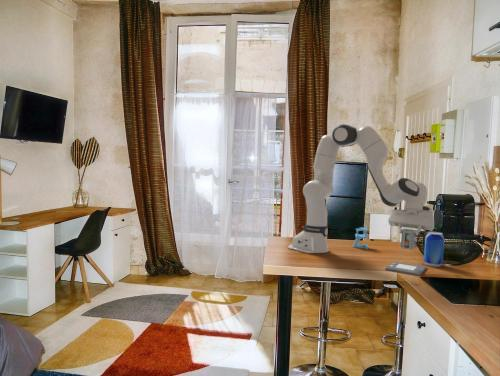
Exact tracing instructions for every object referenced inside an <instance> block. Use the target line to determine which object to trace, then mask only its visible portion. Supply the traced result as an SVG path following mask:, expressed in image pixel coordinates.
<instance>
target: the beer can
mask: <svg viewBox="0 0 500 376" xmlns="http://www.w3.org/2000/svg"><path fill="white" fill-rule="evenodd" d="M444 246H445V237H444V235H443V232H439V231H438V232H437V231H428V232H427V234H426V235H425V239H424V250H423V251H424V254H423V262H424V265H425V266H428V267H435V268H437V267H441V266H442V264H443V262H444V261H443V260H444V248H445V247H444Z"/></svg>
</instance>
